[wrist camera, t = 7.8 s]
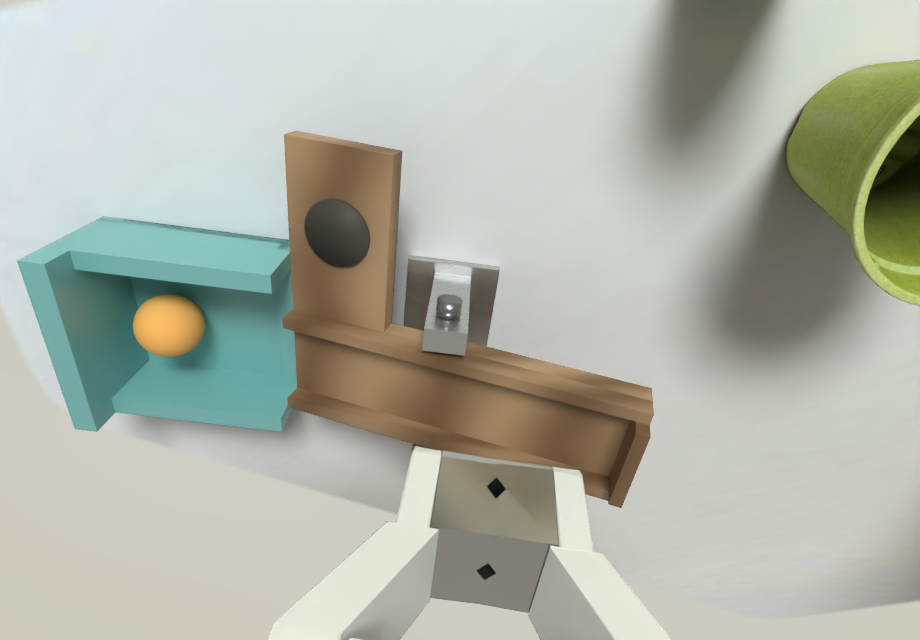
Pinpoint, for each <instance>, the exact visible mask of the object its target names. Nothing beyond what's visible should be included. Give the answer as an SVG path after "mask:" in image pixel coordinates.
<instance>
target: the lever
mask: <svg viewBox="0 0 920 640" xmlns="http://www.w3.org/2000/svg"><path fill="white" fill-rule="evenodd" d="M284 143H285V162H286V182H287V201H288V221H289V240H290V260H291V279H292V299H293V309H292V310H291V311H290V312H289V313H287V314H286V315H285V316H284V317H283V318H282V324H283V328H284V329H288V330H292V331H294V338H295V357H296V377H297V388H296V389H295V390H294V392H293V393H292V394H291V395H290V396H289V397H288V398H287V402H288V407H290V408H294V409H297V410H301V411H304V412H307V413H311V414H314V415H318V416H321V417H324V418H328V419H331V420H335V421H338V422H341V423H345V424H348V425H352V426H355V427H359V428H362V429H365V430H369V431H372V432H376V433H379V434H382V435H386V436H389V437H393V438H396V439H399V440H403V441H406V442H410V443H413V444H416V445H420V446H423V447H427V448H430V449H434V450H440V451H442V452H443V451H449V452H455V453H461V454H466V455H472V456H478V457H484V458H490V459H499V460H507V461H514V462H521V463H529V464H536V465H543V466H550V467H558V468H565V469H572V470H579V471H580V472H581V474H582V476H583V483H584V490H585V494H587V495H590V496H594V497H597V498H600V499H604V500H607V501H609V503H608V504H610V505H613V506H616V507H620V508H621V507H622V505H623V503H624V500H625V498H626V495H627V493H628V490H629V488H630V486H631V483H632V481H633V478H634V476H635V473H636V471H637V468H638V466H639V464H640V461H641V459H642V456H643V454H644V451H645V449H646V447H647V444H648V442H649V439H650V423H651V420H652V418H653V415H654V412H653V400H652V388H648V387H644V386H640V385H636V384H632V383H628V382H624V381H620V380H616V379H612V378H608V377H604V376H600V375H596V374H592V373H589V372H585V371H581V370H577V369H573V368H569V367H565V366H561V365H557V364H553V363H549V362H545V361H541V360H537V359H533V358H529V357H525V356H521V355H517V354H513V353H509V352H505V351H501V350H497V349H493V348H489V347H485V346H481V345H477V344H474V343H470V342H467V344H466V351H465V356H463V355H455V354H447V353H439V352H431V351H423V350H422V345H423V335H424V331H422V330H418V329H414V328H410V327H406V326H402V325H398V324H394V323H392V310H393V293H394V277H395V261H396V244H397V228H398V211H399V195H400V179H401V162H402V151H400V150H395V149H389V148H384V147H379V146H373V145H368V144H363V143H358V142H352V141H347V140H342V139H336V138H331V137H326V136H321V135H315V134H310V133H305V132H300V131H295V132H291V133H287V134H284Z"/></svg>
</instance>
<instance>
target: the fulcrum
mask: <svg viewBox="0 0 920 640" xmlns="http://www.w3.org/2000/svg"><path fill="white" fill-rule="evenodd" d="M498 276H499V267H497V266H489V265H481V264H473V263H465V262H457V261H449V260H442V259H434V258H426V257H418V256H410V257H409V263H408V277H407V290H406V303H405V317H404V326H406V327H410V328H414V329H418V330H422V331H424V335H423V345H422V350H423V351H431V352H439V353H447V354H455V355H463V356H465V351H466V344H467V342H470V343H474V344H477V345H481V346H485V347H486V345H487V340H488V334H489V328H490V322H491V317H492V311H493V305H494V299H495V294H496V288H497V282H498ZM415 446H417V447H423V446H420V445H416V444H413V448H412V452H413V449H414V447H415ZM423 448H427V447H423ZM428 449H430V448H428ZM442 453H443V452H442Z"/></svg>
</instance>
